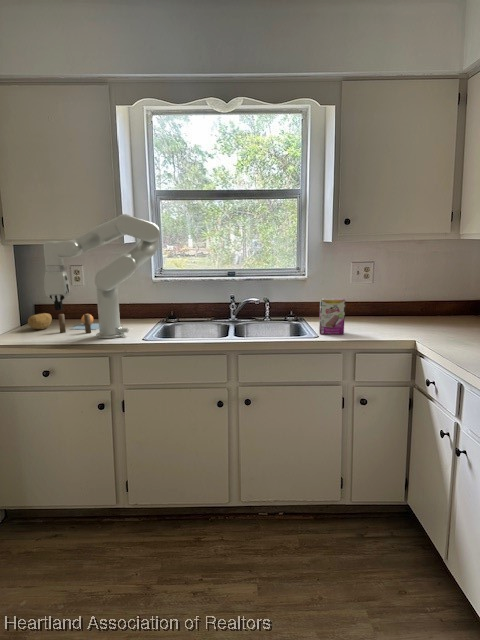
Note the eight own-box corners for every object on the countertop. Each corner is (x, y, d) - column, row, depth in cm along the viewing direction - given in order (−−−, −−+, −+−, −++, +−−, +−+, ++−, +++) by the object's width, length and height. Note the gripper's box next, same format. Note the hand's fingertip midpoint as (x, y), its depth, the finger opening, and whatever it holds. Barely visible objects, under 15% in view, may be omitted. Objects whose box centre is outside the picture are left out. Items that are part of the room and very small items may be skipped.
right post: (92, 332, 212) (90, 314, 211) (89, 333, 210) (88, 315, 208) (87, 332, 213) (85, 314, 211) (84, 333, 210) (83, 315, 208)
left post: (66, 331, 214) (65, 313, 212) (64, 333, 212) (62, 314, 210) (61, 331, 214) (60, 313, 213) (59, 332, 212) (57, 314, 210)
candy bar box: (319, 334, 201) (320, 299, 198) (318, 332, 206) (319, 298, 203) (344, 335, 200) (345, 299, 197) (342, 332, 205) (344, 298, 202)
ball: (95, 313, 232) (90, 314, 226) (94, 324, 232) (90, 326, 226) (84, 312, 232) (79, 313, 226) (83, 323, 233) (79, 325, 227)
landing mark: (107, 324, 232) (107, 323, 232) (95, 329, 218) (95, 329, 218) (82, 323, 233) (82, 323, 233) (69, 329, 220) (69, 328, 220)
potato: (58, 326, 228) (57, 311, 226) (41, 332, 214) (40, 316, 213) (41, 325, 229) (40, 310, 228) (24, 331, 216) (22, 315, 214)
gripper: (75, 268, 196) (78, 308, 200) (44, 268, 198) (48, 308, 201) (66, 269, 189) (70, 311, 192) (34, 270, 191) (38, 311, 194)
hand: (58, 309), depth 197 cm, fingers closed
